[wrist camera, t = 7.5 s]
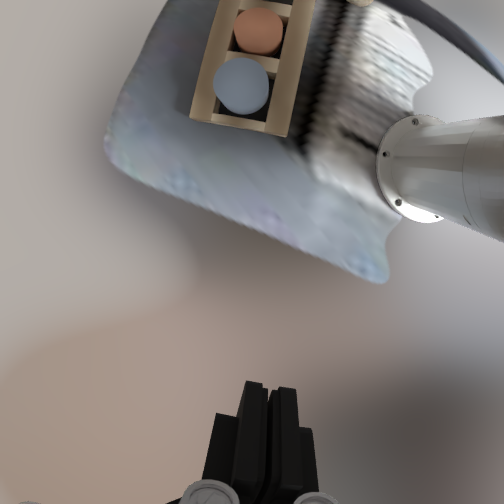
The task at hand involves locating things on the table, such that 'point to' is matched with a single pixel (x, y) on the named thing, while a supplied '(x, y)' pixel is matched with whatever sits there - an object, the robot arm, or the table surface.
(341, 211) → the table surface
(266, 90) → the slate button
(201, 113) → the birch board
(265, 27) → the terracotta button
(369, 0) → the stone
